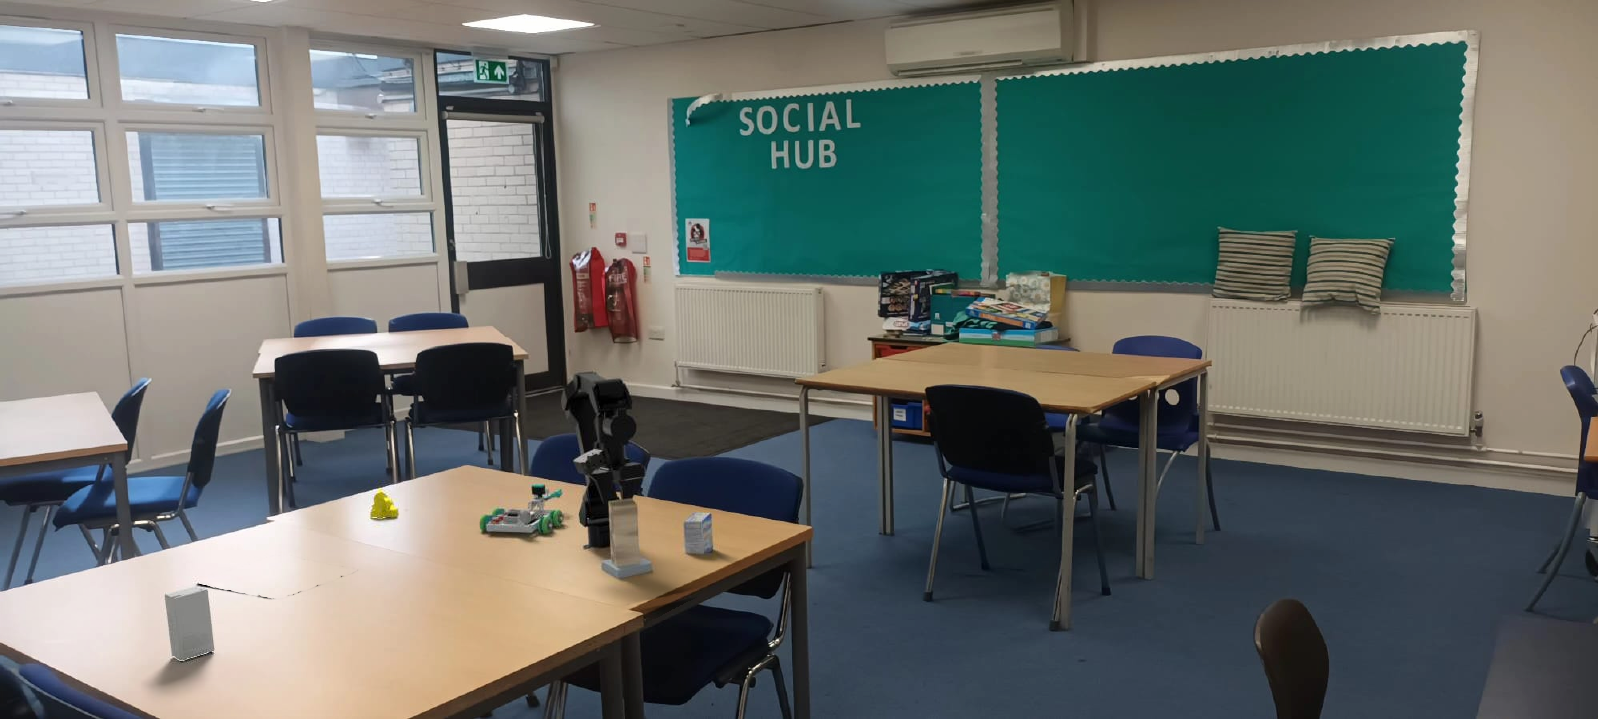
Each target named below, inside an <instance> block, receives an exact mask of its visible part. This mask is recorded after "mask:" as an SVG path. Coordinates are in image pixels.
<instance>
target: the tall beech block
mask: <svg viewBox="0 0 1598 719" xmlns="http://www.w3.org/2000/svg"><path fill="white" fill-rule="evenodd" d="M638 515H639V514H638V504H637V503H636V501H635V500H634V498H633V499H632V498H631V499H623V500H621V499H620V500H615V501H609V522H610V545H611V547H610V559H611V560H612V561H613V563H614V564H615V566H616V567H620V566H627V565H634V564H640V562H639V556H640V545H639V544H640V543H639V542H640V541H639V540H640V538H639V520H638V519H639V518H638Z"/></svg>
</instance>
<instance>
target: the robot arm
mask: <svg viewBox="0 0 1598 719" xmlns="http://www.w3.org/2000/svg"><path fill="white" fill-rule="evenodd" d="M560 399H561V400H560V403H561V404H560V405H561V408H562V411H563V412H564V413H565V417H566V420H567V421H568V422H569V423H570V425H571V426H573V427H574V428H575V433H576V437H577V442H578V447H579V452H580V456H578V457H576V458H575V459H573V463H574V466H575V468H576V470H577V473H578V474H580V475H584V477H585V483H586V487H585V490H584V492H583V495H582V502H581V504H580V508H579V512H578V518H579V519H578V520H579V523H580V524H581V525H582V526H583V528H587V540H588V544H585V545H583V546H582V547H583V549H585V550H588V549H593V548H599V549H605V548H611V545H610V522H609V501H615V500H623V499H631V498H632V499H633V500H634V496H635V494H636V492H637V489H638V487H639V485H640V482H641V481H643V479H644V477H646V474H647V473H646V467H645V466H644V465H643V464H642V463H639V462H635V461H634V462H630V458H628V457H627V456H626V446H628V445H629V440H631V439H632V438H633V437H634V436H635V434H636V432H637V427H638V426H637V423H636V421H635V419H634V418H633V417H632V416H631V415H630V414H627V411H631V410H633V407H632V406H633V399H632V396H631V394H630V391H629V388H628V387H627V386H626V383H625V382H624V381H623V379H622V378H620V377H619V378H618V377H616V378H608V379H607V378H605V377H602V376H600V375H599V374H597V372H594V371H584V372H582V371H581V372H576V373H574V374H573V376H572V380H571V381H569V382H568V384H567V385H565V386H564V388H563V390H562V394H561V398H560ZM595 420H596V424H595ZM615 484H616V485H617V487H618V489H619V494H620V496H619V495H618V494H617V489H616V485H615Z"/></svg>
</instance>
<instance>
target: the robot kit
mask: <svg viewBox="0 0 1598 719" xmlns="http://www.w3.org/2000/svg"><path fill="white" fill-rule="evenodd" d="M531 494H532V495H533V499H532V500H531V501H528V502H527V508H526V509H525V508H523V509H515V508H514V507H510V508H508V510H505V508H500V507H496V508H494V509H493V511H492V513H491V514H483V515H481V517H480V519H479V529H480V531H482V532H485V533H486V532H489V533H490V532H504V533H505V532H507V533H509V532H510V533H533V532H534V531H535V530H537V529H538V531H539V533H540V534H545V535H547V533H548V534H550V533H551V532H552V529H553V527H556V528H557V527H558V526H559V527H561V526H562V524H563V521H564V514H563V511H562V510H561V509H544V508H545V506H546V504H545V502H547V501H549V500H551V499H553V498H557V499H560V498H561V497H562V495H563V489H562V488H559V489H558V490H555V491H553V493H550V489H549V488H546V484H544V483H534V484H532V485H531ZM536 507H537V508H539V509H534V508H536ZM554 525H555V526H554ZM560 525H561V526H560ZM559 527H558V528H559Z"/></svg>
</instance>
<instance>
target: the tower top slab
mask: <svg viewBox="0 0 1598 719" xmlns="http://www.w3.org/2000/svg"><path fill="white" fill-rule="evenodd" d="M639 562H640V564H634V565H627V566H620V567H616V566H615V564H614V563H613V561H612V560H611V558H610V559H605V560H601V570H602V571H604V572H606V573H607V574H609V575H611V576H612V577H614V578H616V579H623V578H628V577H632V576H636V575H641V574H646V573H650V572H652V571H653V562H651V561H650V560H648V559H646V558H644V557H642V556H640V555H639Z"/></svg>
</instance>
